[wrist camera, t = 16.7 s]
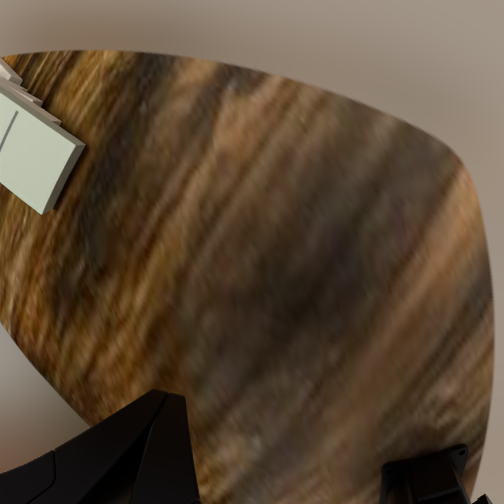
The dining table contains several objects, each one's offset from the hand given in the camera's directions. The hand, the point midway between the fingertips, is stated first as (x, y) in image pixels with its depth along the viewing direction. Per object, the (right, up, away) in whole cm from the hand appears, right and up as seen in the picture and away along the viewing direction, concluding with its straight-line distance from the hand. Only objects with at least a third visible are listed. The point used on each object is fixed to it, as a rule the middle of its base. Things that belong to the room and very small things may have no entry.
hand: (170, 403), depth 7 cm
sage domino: (-12, +9, +13) cm, 20 cm away
